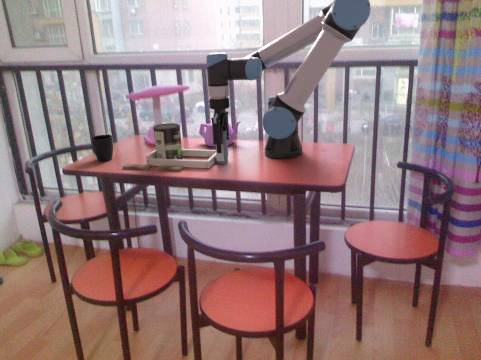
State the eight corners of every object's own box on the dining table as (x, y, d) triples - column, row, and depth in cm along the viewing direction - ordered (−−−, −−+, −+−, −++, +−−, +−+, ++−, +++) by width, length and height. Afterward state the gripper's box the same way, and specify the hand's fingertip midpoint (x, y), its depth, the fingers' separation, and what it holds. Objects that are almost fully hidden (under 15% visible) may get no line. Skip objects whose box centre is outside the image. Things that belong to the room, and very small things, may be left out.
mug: (122, 154, 179) (119, 132, 175) (109, 163, 167) (106, 139, 164) (104, 154, 180) (101, 132, 177) (90, 162, 169) (86, 139, 166)
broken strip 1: (152, 167, 159) (152, 165, 159) (149, 170, 157) (149, 167, 156) (126, 166, 162) (126, 163, 162) (122, 168, 159) (122, 166, 159)
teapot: (237, 149, 179) (236, 123, 175) (194, 147, 185) (192, 122, 181) (246, 141, 191) (246, 117, 187) (206, 139, 197) (204, 116, 193)
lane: (231, 156, 168) (230, 127, 164) (220, 168, 154) (218, 136, 150) (163, 154, 175) (160, 126, 171) (146, 165, 161) (143, 135, 157)
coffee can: (186, 157, 171) (183, 122, 166) (178, 164, 161) (175, 128, 156) (162, 156, 172) (158, 123, 168) (153, 164, 163) (148, 128, 158)
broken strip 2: (183, 168, 156) (183, 166, 156) (180, 171, 153) (180, 168, 153) (161, 167, 158) (161, 165, 158) (157, 170, 156) (157, 167, 155)
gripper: (216, 93, 162) (220, 151, 170) (201, 101, 146) (205, 165, 153) (235, 93, 160) (238, 152, 168) (221, 101, 144) (225, 166, 152)
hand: (222, 158), depth 161 cm, fingers open, 5 cm apart
